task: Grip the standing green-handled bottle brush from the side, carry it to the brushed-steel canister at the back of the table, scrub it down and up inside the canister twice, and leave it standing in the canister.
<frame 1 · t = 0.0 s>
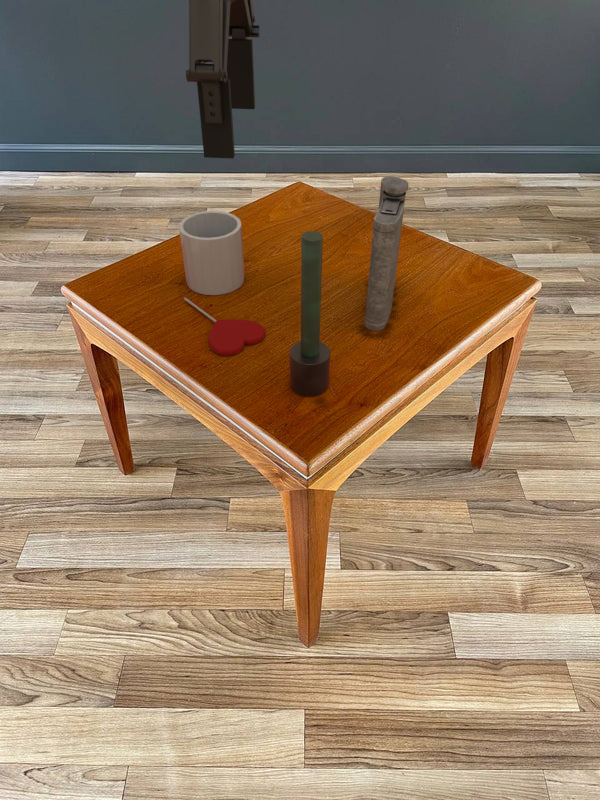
hand: (231, 130, 64), 29 cm above the table, tool pointing down, fingers open, 13 cm apart
canister: (215, 279, 97), on the table
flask: (380, 303, 93), on the table
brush: (309, 383, 79), on the table
lollipop: (215, 325, 89), on the table
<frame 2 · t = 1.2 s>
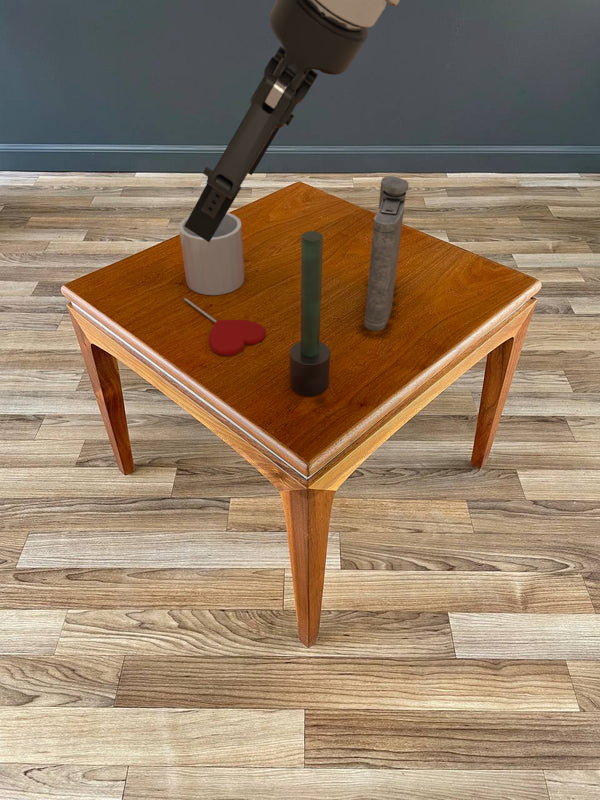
hand: (221, 197, 65), 23 cm above the table, tool tilted 30°, fingers open, 13 cm apart
nothing on the table moved.
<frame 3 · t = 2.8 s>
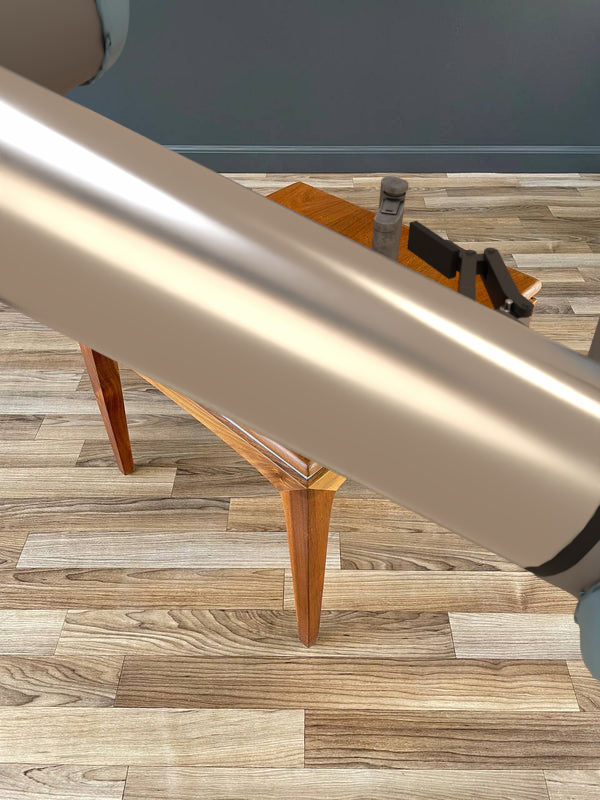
hand: (349, 251, 58), 22 cm above the table, tool horizontal, fingers open, 13 cm apart
nothing on the table moved.
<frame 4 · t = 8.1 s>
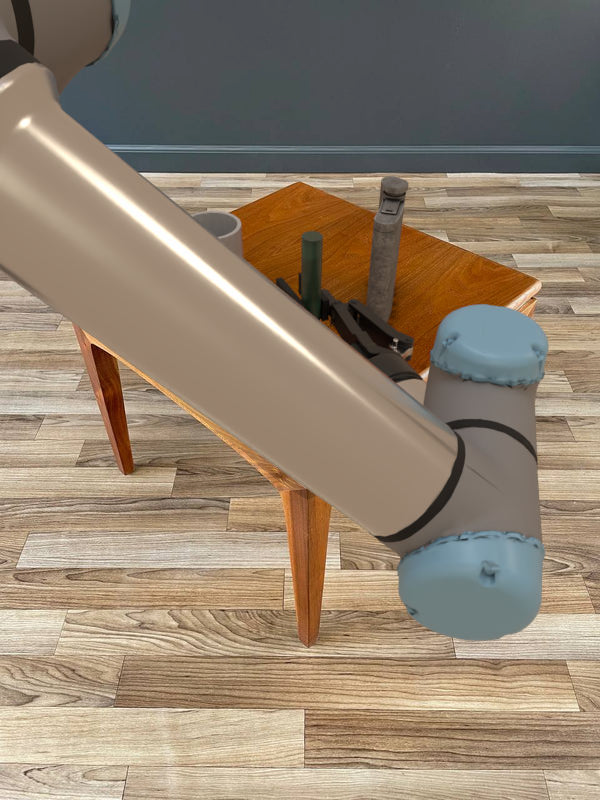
hand: (290, 285, 75), 11 cm above the table, tool horizontal, fingers closed on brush, 2 cm apart
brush: (309, 383, 79), on the table, touching gripper
everything else where it was.
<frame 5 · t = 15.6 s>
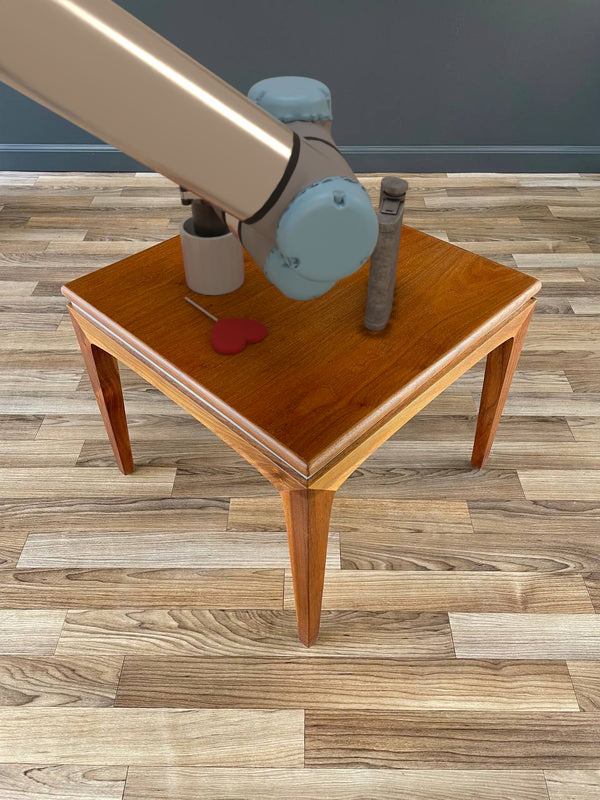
hand: (190, 139, 88), 19 cm above the table, tool horizontal, fingers closed on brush, 2 cm apart
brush: (211, 230, 92), point 8 cm above the table, touching gripper
everything else where it was.
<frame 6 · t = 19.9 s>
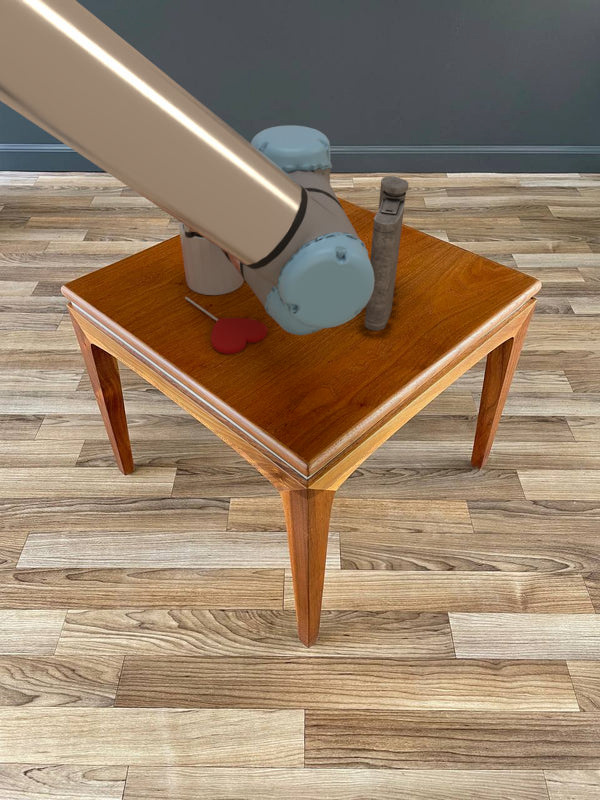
hand: (193, 169, 91), 15 cm above the table, tool horizontal, fingers closed on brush, 2 cm apart
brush: (212, 256, 94), point 4 cm above the table, touching gripper
everything else where it was.
when the fingers open (12 cm above the table, at t = 23.2 s): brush stays where it is, resting on canister.
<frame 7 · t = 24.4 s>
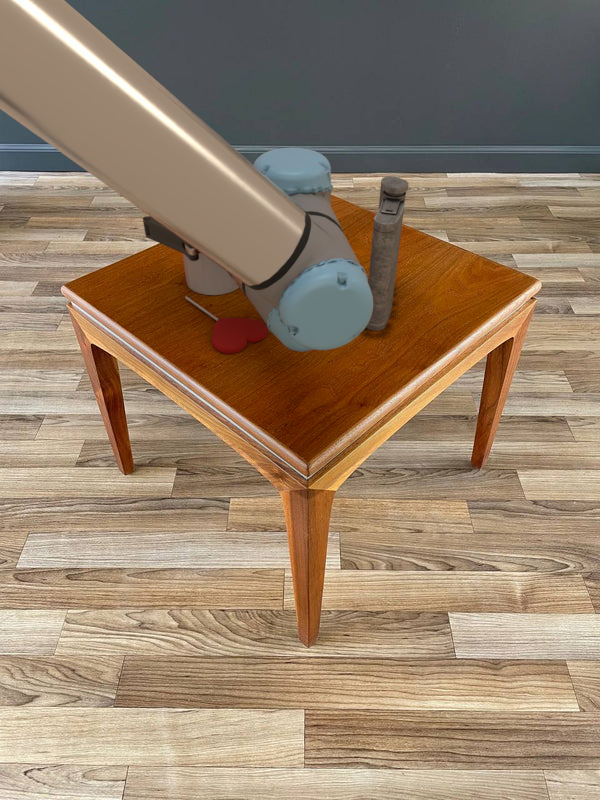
hand: (199, 190, 90), 13 cm above the table, tool horizontal, fingers open, 13 cm apart
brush: (215, 276, 97), point 1 cm above the table, touching canister
everything else where it was.
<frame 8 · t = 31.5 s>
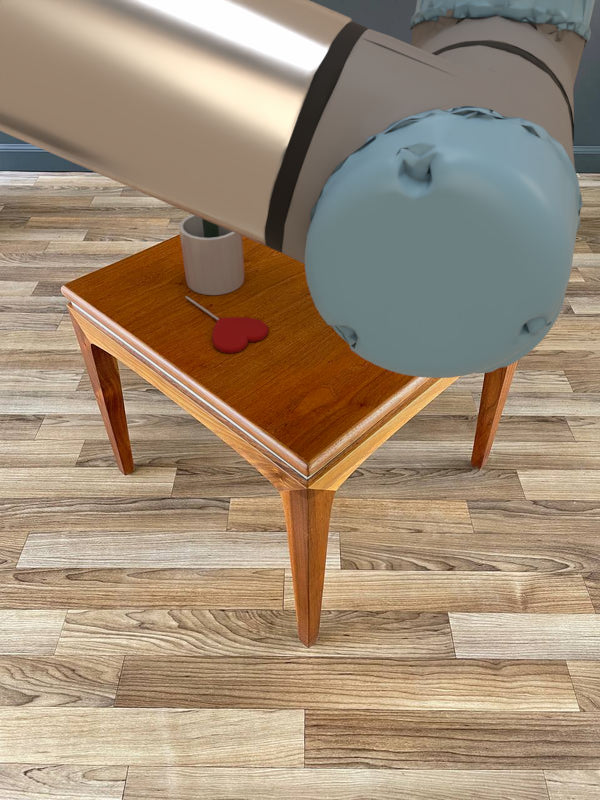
hand: (252, 112, 58), 32 cm above the table, tool horizontal, fingers open, 13 cm apart
nothing on the table moved.
at the end: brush 0.0 cm off-centre in the canister, point 0.6 cm above the canister's base; the gripper is holding nothing; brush moved 28.0 cm from its start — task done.
